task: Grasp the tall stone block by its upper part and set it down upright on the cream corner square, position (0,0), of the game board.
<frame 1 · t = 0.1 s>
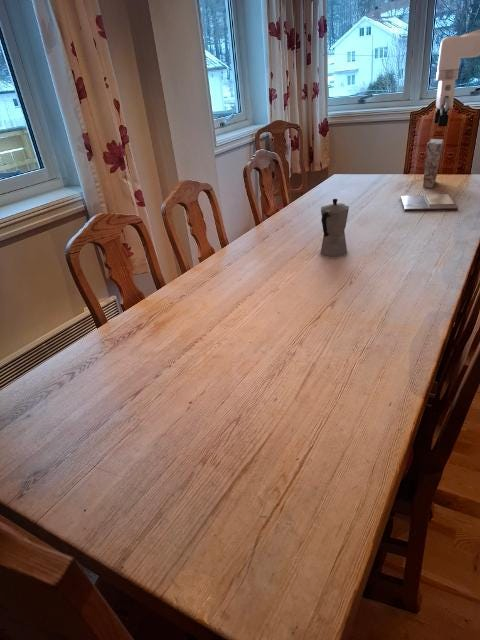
hand: (440, 124, 171), 30 cm above the table, tool pointing down, fingers open, 9 cm apart
coffeepot: (332, 253, 146), on the table
board: (427, 203, 182), on the table
stone block: (429, 185, 208), on the table
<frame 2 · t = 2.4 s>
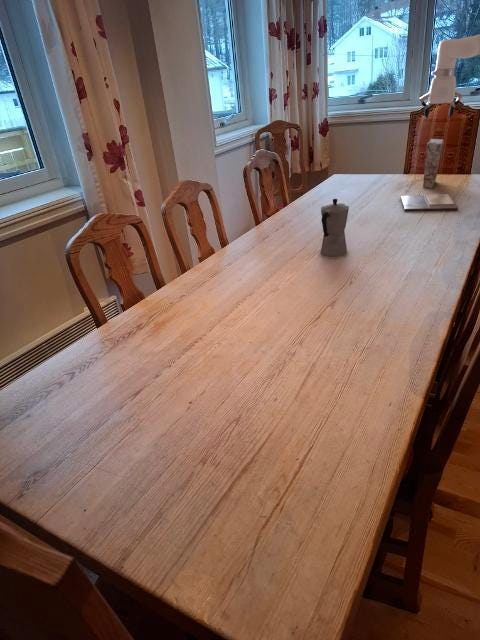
hand: (437, 117, 192), 30 cm above the table, tool pointing down, fingers open, 9 cm apart
nothing on the table moved.
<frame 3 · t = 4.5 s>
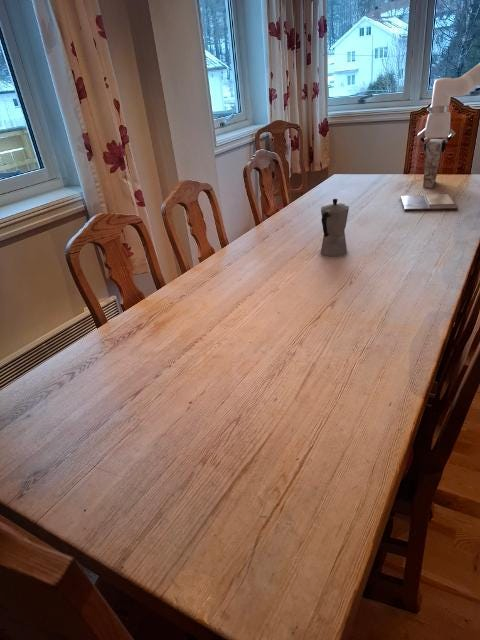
hand: (433, 151, 200), 15 cm above the table, tool pointing down, fingers closed on stone block, 6 cm apart
stone block: (429, 185, 208), on the table, touching gripper
everything else where it was.
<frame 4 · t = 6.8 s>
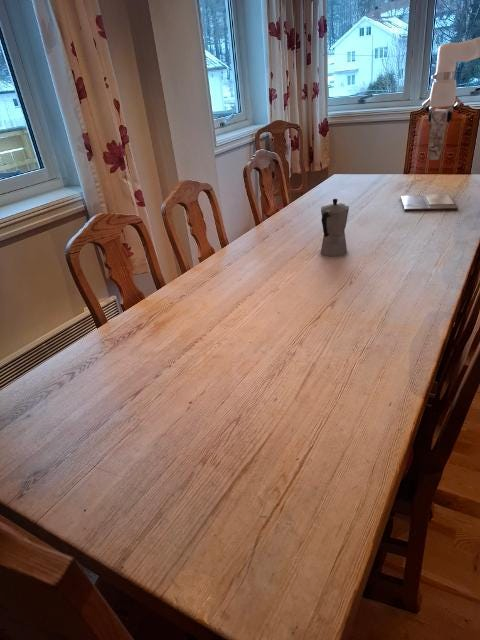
hand: (439, 122, 192), 28 cm above the table, tool pointing down, fingers closed on stone block, 6 cm apart
stone block: (434, 158, 200), point 13 cm above the table, touching gripper
everything else where it was.
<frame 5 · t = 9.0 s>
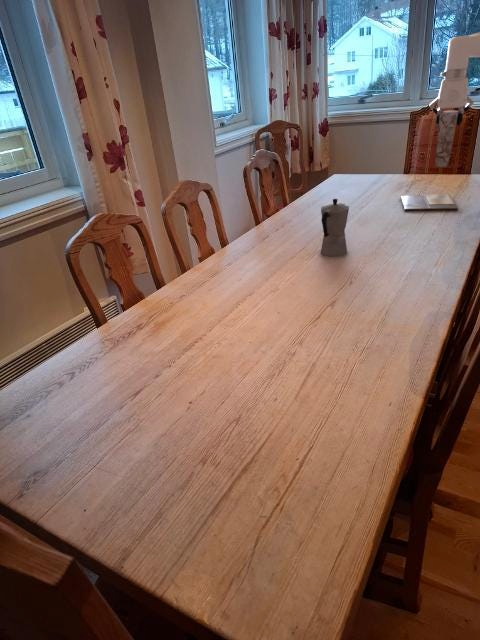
hand: (448, 125, 173), 30 cm above the table, tool pointing down, fingers closed on stone block, 6 cm apart
stone block: (442, 164, 180), point 14 cm above the table, touching gripper
everything else where it was.
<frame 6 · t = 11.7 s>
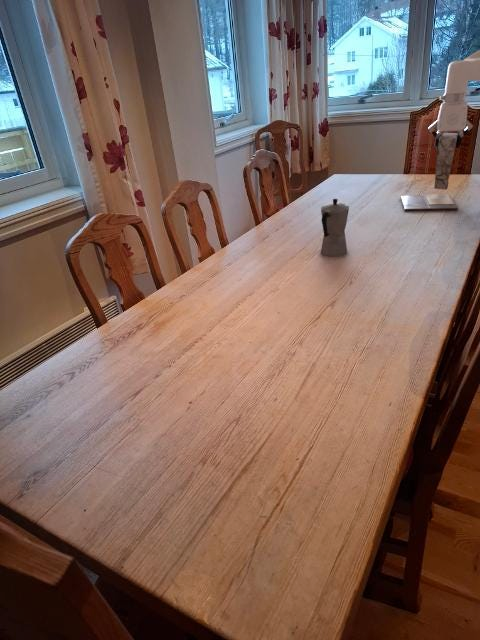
hand: (447, 147, 172), 22 cm above the table, tool pointing down, fingers closed on stone block, 6 cm apart
stone block: (441, 186, 180), point 7 cm above the table, touching gripper
everything else where it was.
when the fingers open (16 cm above the table, at t = 13.8 s): stone block stays where it is, resting on board.
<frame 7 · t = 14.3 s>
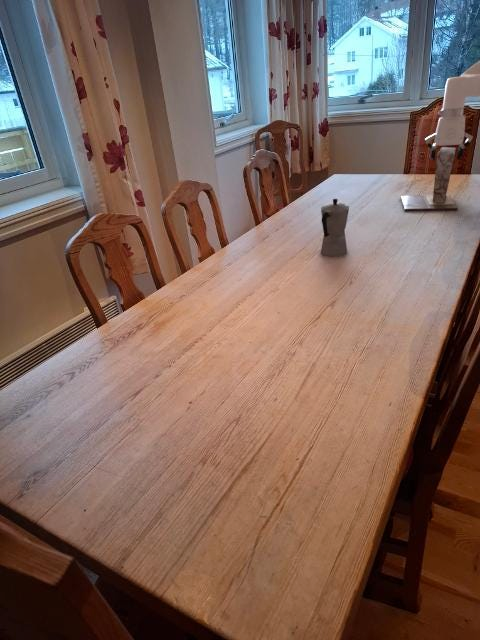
hand: (445, 159, 174), 17 cm above the table, tool pointing down, fingers open, 9 cm apart
stone block: (439, 199, 183), point 1 cm above the table, touching board
everything else where it was.
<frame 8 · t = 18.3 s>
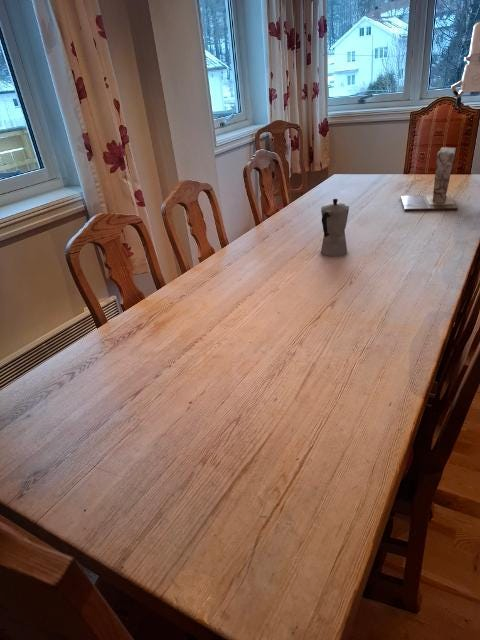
hand: (470, 107, 178), 34 cm above the table, tool pointing down, fingers open, 9 cm apart
nothing on the table moved.
at the end: stone block inside the target area on the board (0.1 cm from its centre), point 1.0 cm above the board's base; stone block tilted 0°; the gripper is holding nothing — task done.
